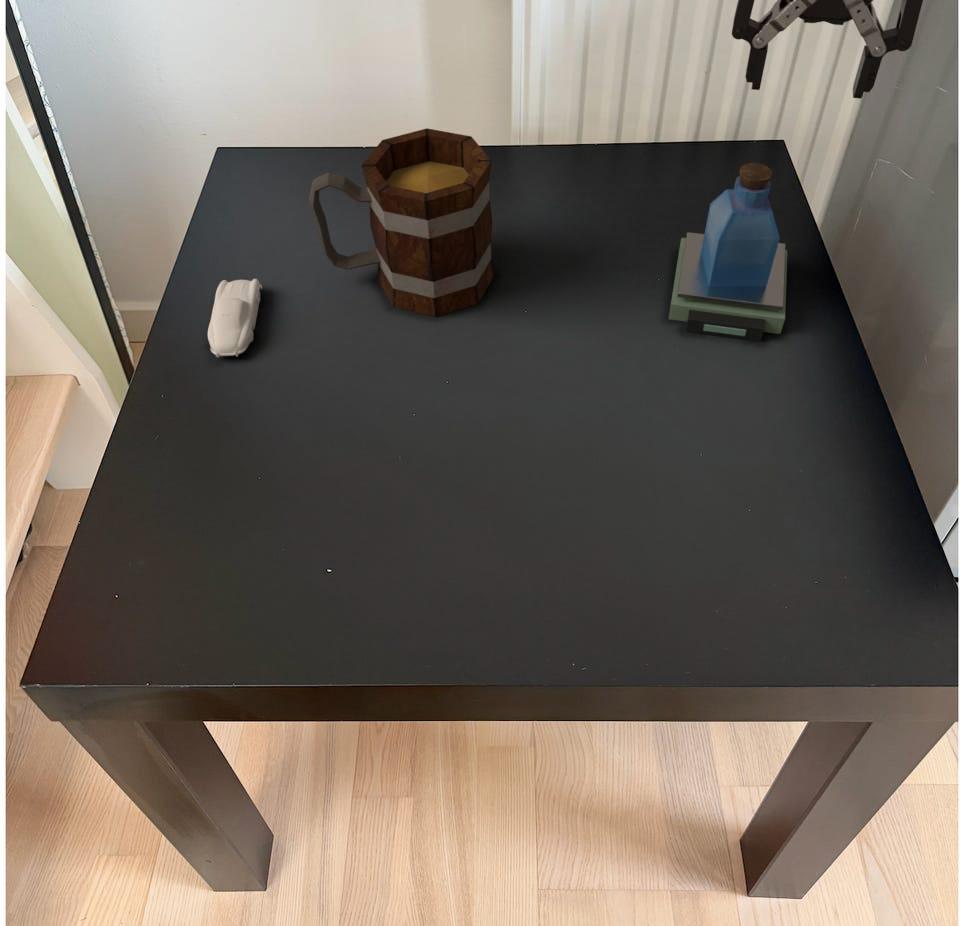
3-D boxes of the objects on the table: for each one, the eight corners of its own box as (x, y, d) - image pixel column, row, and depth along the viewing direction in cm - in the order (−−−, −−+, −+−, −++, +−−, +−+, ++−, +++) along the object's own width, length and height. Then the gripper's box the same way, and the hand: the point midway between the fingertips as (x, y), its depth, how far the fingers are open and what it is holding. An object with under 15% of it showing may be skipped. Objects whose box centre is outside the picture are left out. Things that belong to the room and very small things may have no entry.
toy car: (264, 288, 105) (258, 264, 102) (251, 361, 97) (244, 337, 95) (222, 290, 105) (215, 266, 102) (206, 363, 97) (198, 339, 95)
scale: (783, 265, 105) (787, 249, 103) (780, 345, 97) (784, 330, 95) (678, 252, 107) (681, 237, 105) (666, 330, 99) (669, 314, 97)
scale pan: (782, 252, 103) (785, 243, 102) (780, 315, 97) (783, 306, 96) (685, 240, 105) (686, 231, 104) (676, 301, 98) (677, 293, 97)
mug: (491, 240, 110) (489, 125, 98) (496, 314, 101) (494, 198, 90) (329, 246, 110) (308, 133, 98) (320, 321, 101) (295, 206, 90)
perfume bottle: (766, 286, 98) (793, 189, 88) (708, 286, 98) (729, 190, 89) (756, 250, 102) (781, 154, 92) (701, 251, 102) (719, 155, 93)
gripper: (755, -108, 66) (719, 104, 78) (965, -99, 63) (893, 119, 75) (760, -142, 70) (726, 63, 83) (956, -135, 68) (890, 76, 80)
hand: (806, 89), depth 79 cm, fingers open, 8 cm apart
